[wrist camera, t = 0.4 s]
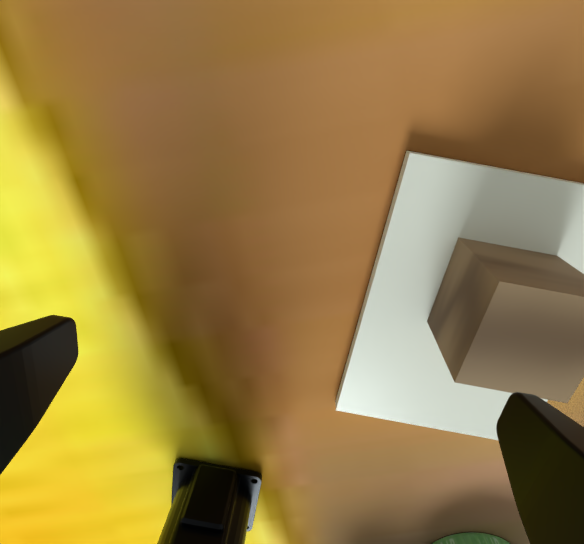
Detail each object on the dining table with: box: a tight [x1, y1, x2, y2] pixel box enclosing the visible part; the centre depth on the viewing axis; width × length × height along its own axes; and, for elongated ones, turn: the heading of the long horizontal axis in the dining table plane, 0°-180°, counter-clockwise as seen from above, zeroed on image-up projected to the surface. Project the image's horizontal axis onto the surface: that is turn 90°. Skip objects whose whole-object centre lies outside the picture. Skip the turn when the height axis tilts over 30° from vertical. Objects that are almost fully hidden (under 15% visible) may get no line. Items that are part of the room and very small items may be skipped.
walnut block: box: [427, 237, 584, 403], centre depth 18 cm, size 5×5×5 cm
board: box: [335, 151, 584, 440], centre depth 22 cm, size 16×12×1 cm
